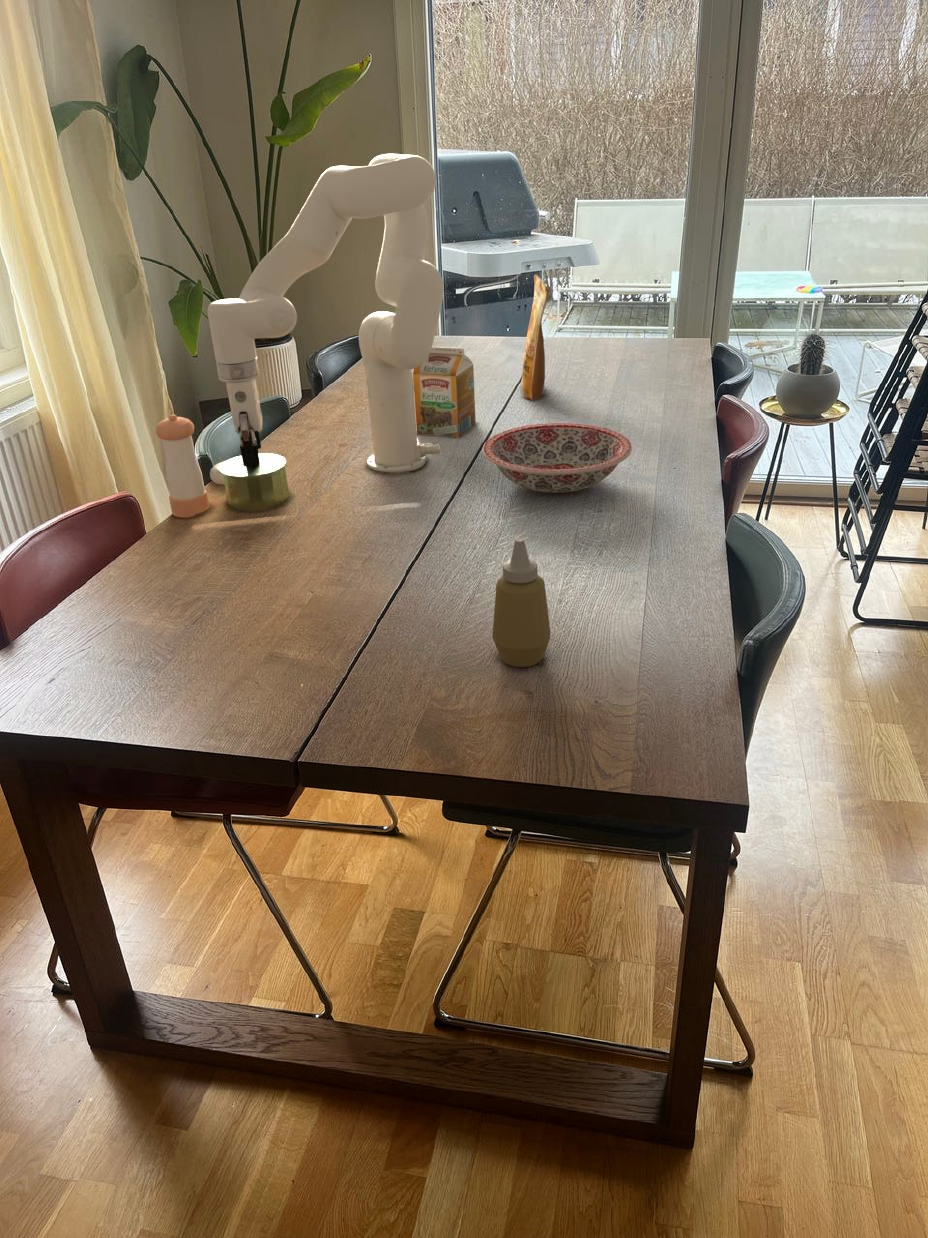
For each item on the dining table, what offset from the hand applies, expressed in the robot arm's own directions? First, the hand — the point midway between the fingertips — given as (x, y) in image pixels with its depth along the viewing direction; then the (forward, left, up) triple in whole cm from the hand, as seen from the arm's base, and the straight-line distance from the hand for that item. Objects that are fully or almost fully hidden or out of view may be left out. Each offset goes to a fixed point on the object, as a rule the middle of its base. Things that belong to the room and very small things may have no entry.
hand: (252, 456), depth 186 cm
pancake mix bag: (-70, -58, -9) cm, 91 cm away
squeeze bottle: (-38, +71, -9) cm, 81 cm away
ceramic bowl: (-59, +8, -9) cm, 60 cm away
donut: (+5, -13, -9) cm, 17 cm away
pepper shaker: (+13, +2, -9) cm, 16 cm away
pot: (0, 0, -9) cm, 9 cm away
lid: (0, 0, -2) cm, 2 cm away
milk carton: (-43, -34, -9) cm, 55 cm away
